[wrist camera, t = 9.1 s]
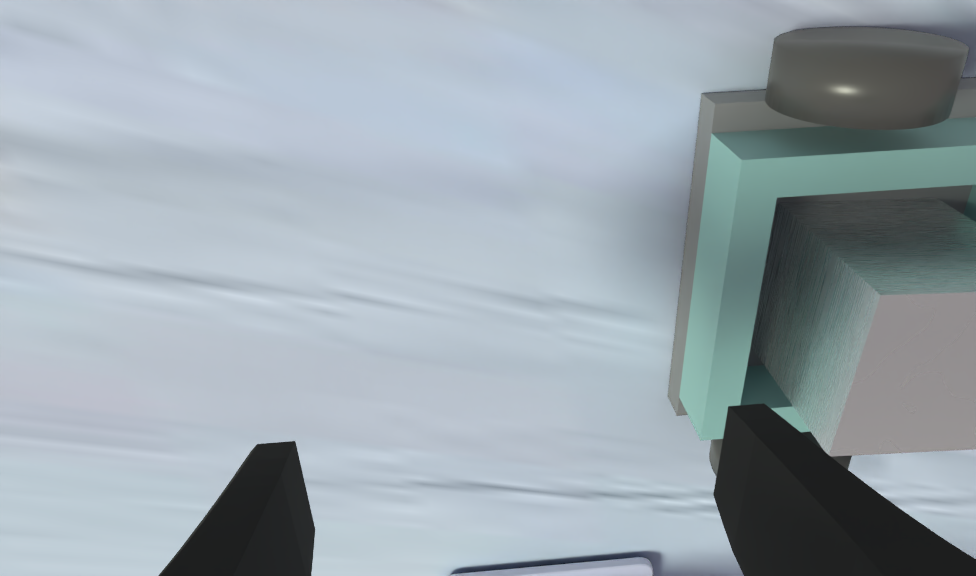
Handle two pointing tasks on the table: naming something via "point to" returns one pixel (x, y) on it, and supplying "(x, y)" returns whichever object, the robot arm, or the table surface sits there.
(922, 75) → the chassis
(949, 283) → the block
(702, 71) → the table surface
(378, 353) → the table surface
